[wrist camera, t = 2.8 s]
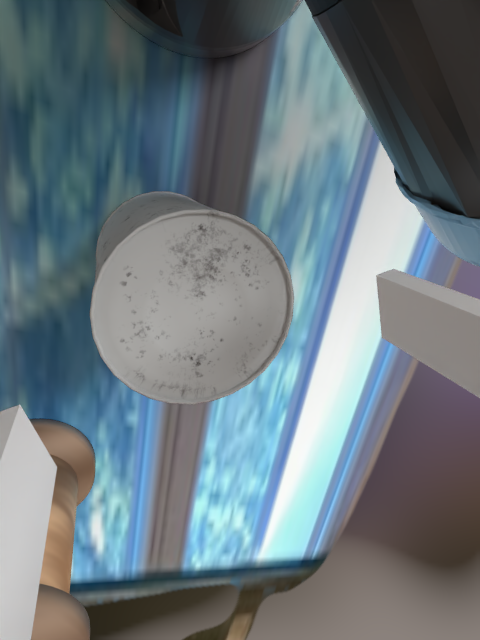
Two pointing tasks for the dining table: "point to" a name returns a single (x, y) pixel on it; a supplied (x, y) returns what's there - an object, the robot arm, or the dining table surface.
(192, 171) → the dining table surface
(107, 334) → the white scuffed cylinder
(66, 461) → the bobbin
